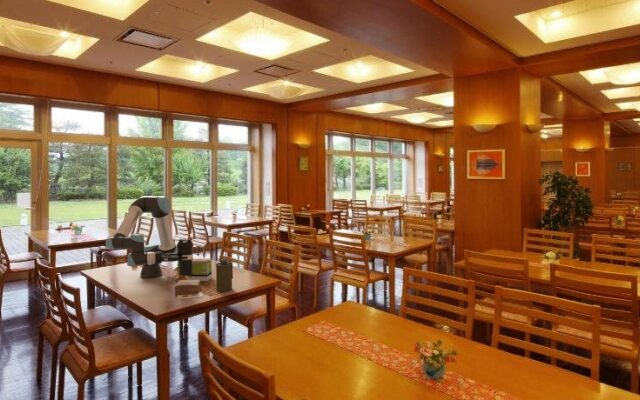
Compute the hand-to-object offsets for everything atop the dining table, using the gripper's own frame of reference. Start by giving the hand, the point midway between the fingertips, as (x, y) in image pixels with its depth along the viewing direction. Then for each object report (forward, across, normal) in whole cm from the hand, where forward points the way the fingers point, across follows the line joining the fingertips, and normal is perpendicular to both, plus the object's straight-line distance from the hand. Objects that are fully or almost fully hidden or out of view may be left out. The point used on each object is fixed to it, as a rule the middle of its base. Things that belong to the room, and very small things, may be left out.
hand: (192, 255), depth 256 cm
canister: (+20, +2, -24) cm, 31 cm away
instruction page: (-3, +8, -24) cm, 25 cm away
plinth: (-3, 0, -24) cm, 24 cm away
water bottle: (-5, 0, -12) cm, 13 cm away
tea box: (+5, -28, -24) cm, 38 cm away
